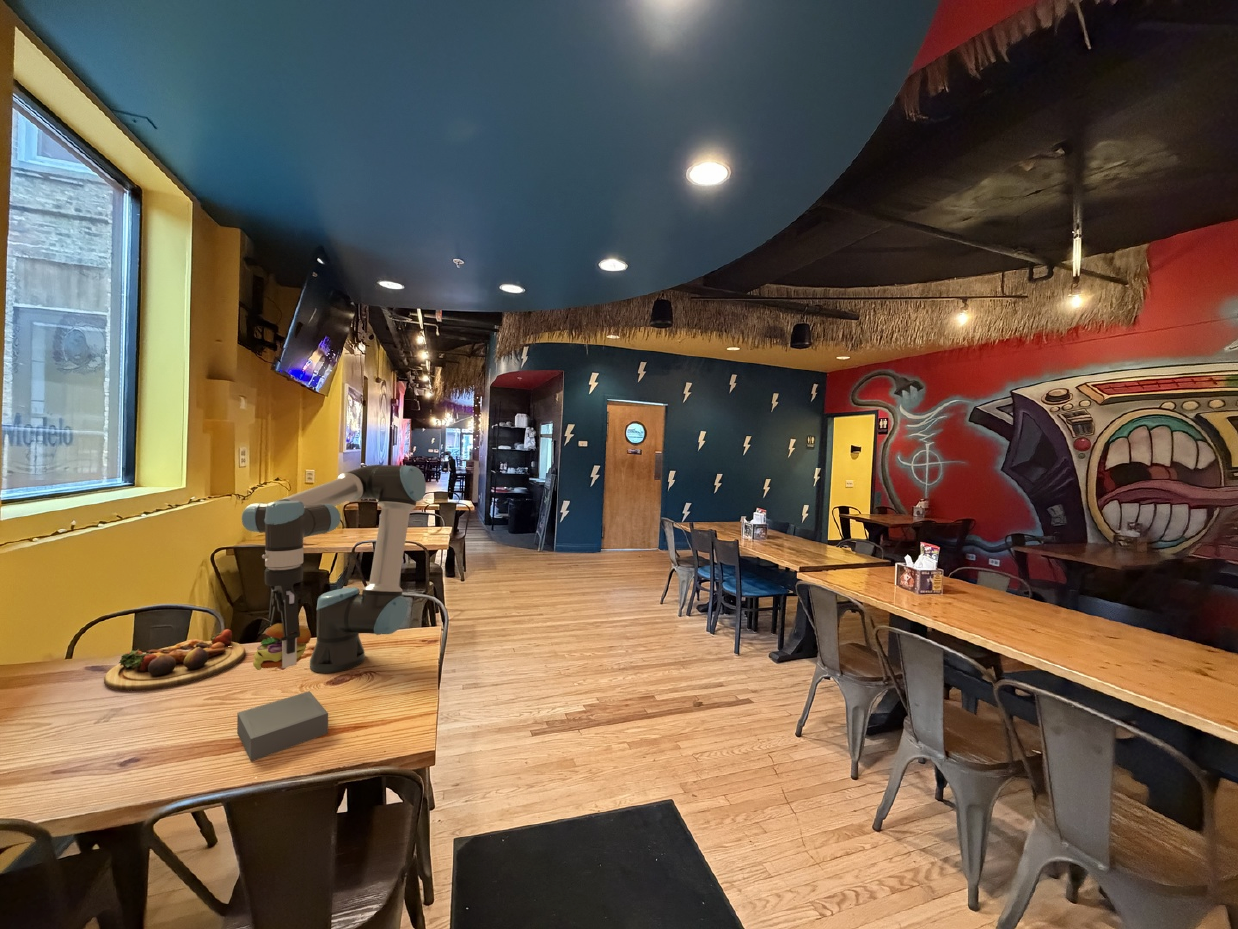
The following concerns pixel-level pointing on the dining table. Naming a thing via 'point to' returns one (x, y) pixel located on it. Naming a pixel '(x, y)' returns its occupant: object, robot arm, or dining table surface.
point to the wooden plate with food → (175, 664)
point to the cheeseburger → (278, 647)
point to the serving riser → (281, 725)
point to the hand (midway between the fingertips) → (283, 659)
